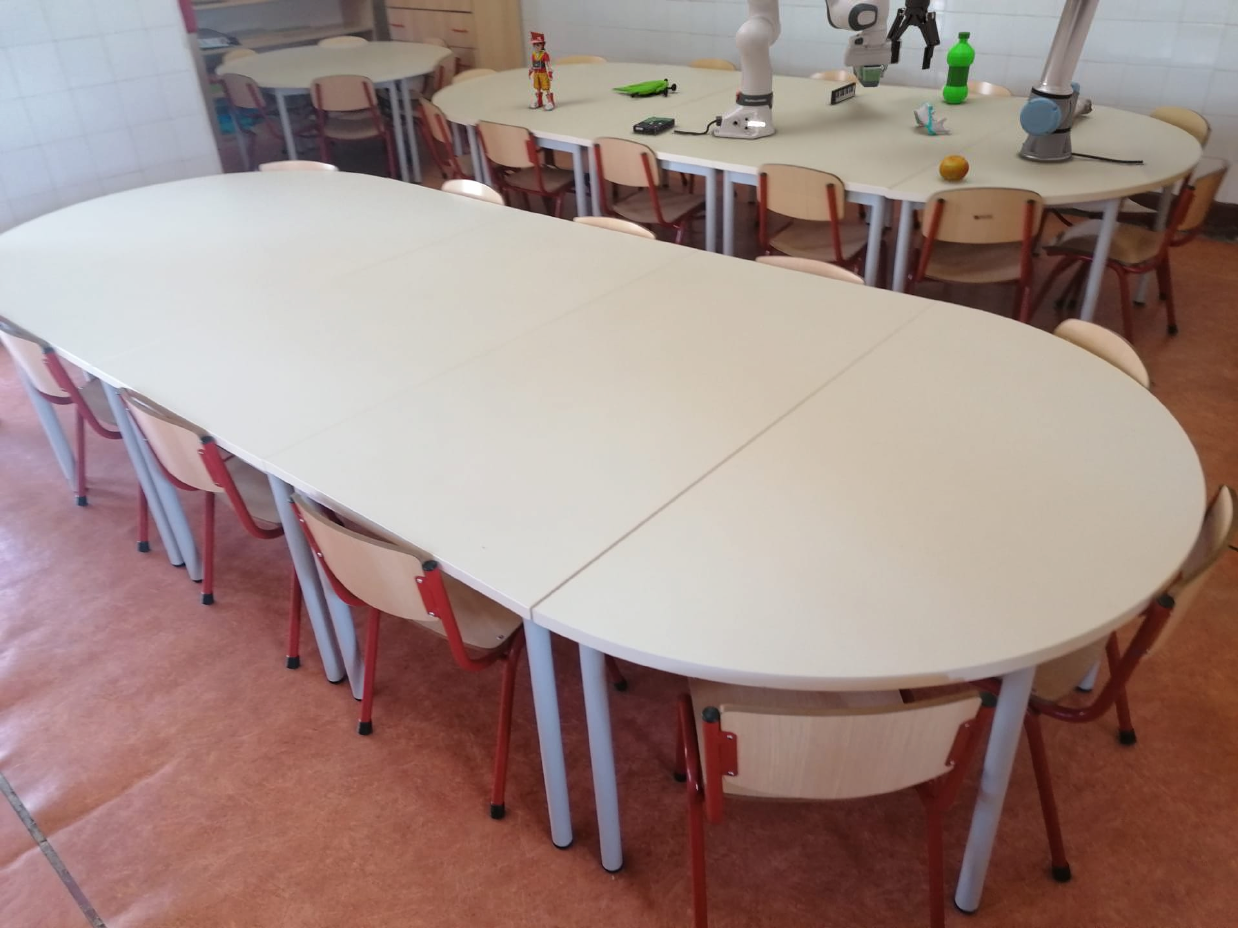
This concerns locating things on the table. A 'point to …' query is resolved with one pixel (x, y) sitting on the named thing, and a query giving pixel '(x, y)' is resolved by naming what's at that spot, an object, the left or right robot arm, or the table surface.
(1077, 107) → the rolled mat
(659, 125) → the disk drive
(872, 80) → the planter
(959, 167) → the fruit
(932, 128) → the anatomical model
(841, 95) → the midi keyboard
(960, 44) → the plastic bottle
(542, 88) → the toy
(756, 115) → the left robot arm
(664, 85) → the toy
